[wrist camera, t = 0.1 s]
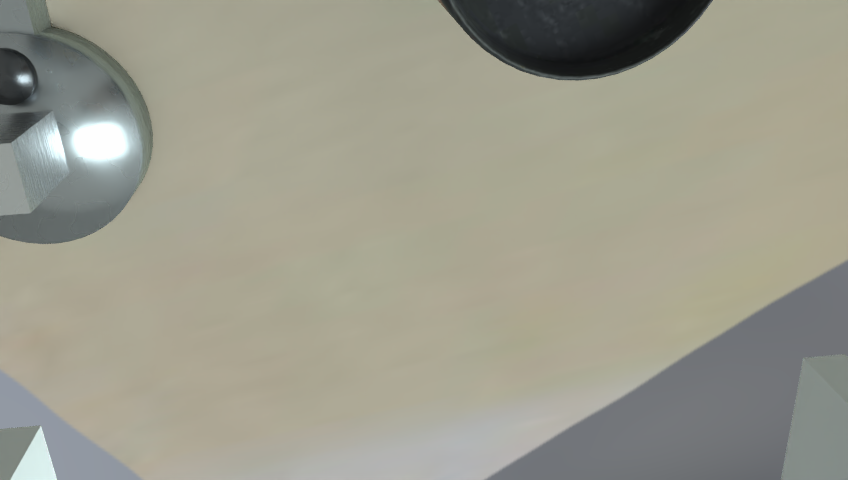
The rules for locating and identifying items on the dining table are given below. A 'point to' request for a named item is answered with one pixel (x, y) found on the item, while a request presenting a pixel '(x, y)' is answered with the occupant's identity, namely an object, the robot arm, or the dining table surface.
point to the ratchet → (64, 130)
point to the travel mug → (575, 32)
